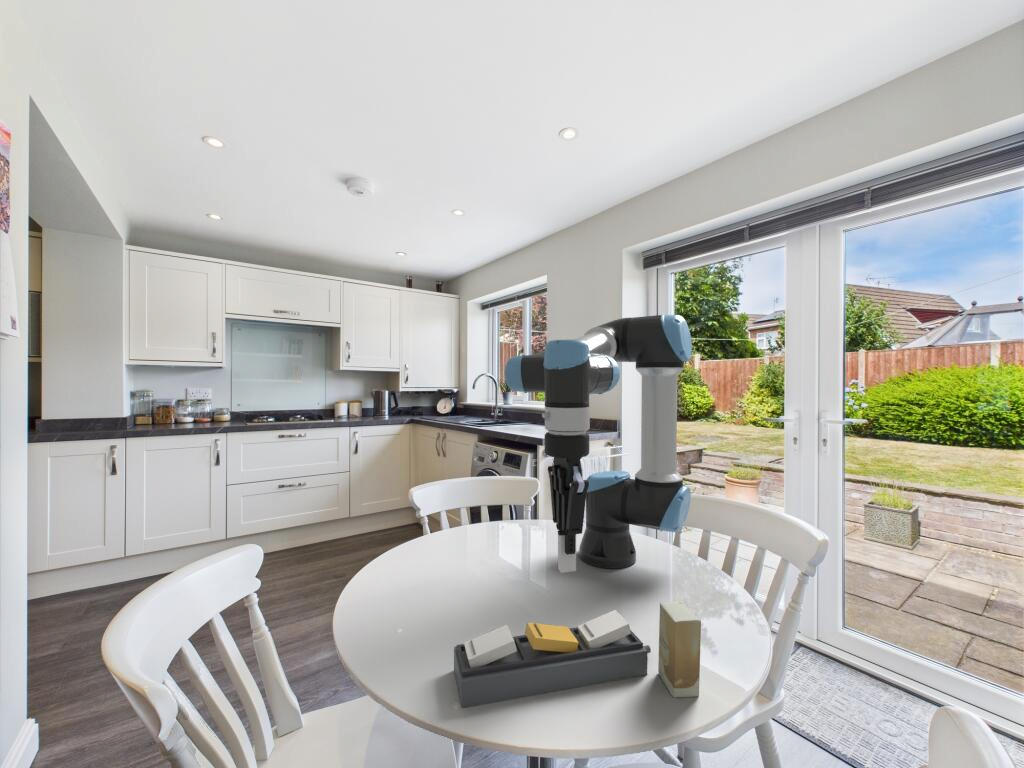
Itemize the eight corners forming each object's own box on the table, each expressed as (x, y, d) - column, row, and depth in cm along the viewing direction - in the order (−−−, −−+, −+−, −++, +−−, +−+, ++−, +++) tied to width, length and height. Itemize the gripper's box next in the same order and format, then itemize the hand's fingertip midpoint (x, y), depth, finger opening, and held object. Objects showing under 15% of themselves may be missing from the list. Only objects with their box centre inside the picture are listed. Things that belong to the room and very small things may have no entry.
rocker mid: (565, 637, 80) (568, 625, 80) (576, 653, 75) (578, 641, 75) (524, 632, 78) (527, 621, 78) (533, 649, 74) (535, 636, 74)
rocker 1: (509, 634, 78) (506, 623, 77) (517, 651, 73) (514, 639, 73) (466, 652, 76) (463, 641, 76) (471, 670, 71) (467, 658, 71)
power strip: (635, 641, 86) (636, 616, 86) (663, 671, 77) (663, 643, 77) (453, 670, 77) (453, 642, 77) (461, 707, 69) (461, 676, 69)
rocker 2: (617, 618, 82) (615, 608, 82) (631, 633, 78) (628, 622, 78) (579, 635, 81) (576, 624, 81) (591, 651, 76) (588, 640, 76)
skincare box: (657, 672, 77) (657, 600, 77) (682, 671, 77) (683, 599, 77) (674, 699, 70) (674, 620, 70) (701, 698, 71) (702, 619, 71)
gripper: (534, 427, 83) (534, 557, 83) (559, 438, 70) (559, 590, 71) (572, 426, 85) (573, 553, 85) (604, 436, 72) (604, 584, 73)
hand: (567, 569), depth 78 cm, fingers closed
